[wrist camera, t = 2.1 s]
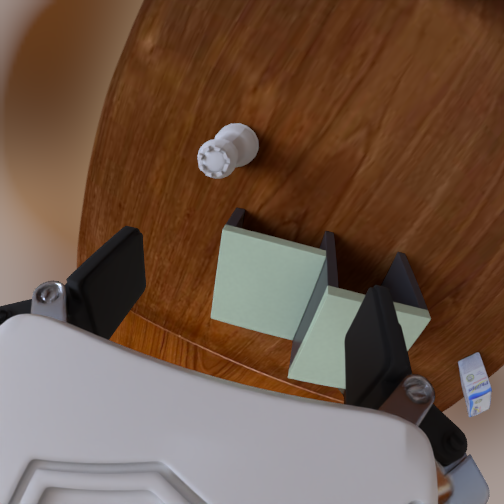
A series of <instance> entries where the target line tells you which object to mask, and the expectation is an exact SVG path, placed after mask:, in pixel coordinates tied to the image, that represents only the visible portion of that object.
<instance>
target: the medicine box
mask: <svg viewBox="0 0 504 504" xmlns="http://www.w3.org/2000/svg"><path fill="white" fill-rule="evenodd" d="M458 365H459V371H460V378H461V385H462V389H463V394H464V398H465V402H466V407H467V411H468V415H469V417H472V416H475V415H477V414H480V413H482V412H484V411H486V410H488V409H489V408H490V402H491V392H492V389H491V386H490V382H489V379H488V376H487V373H486V370H485V367H484V364H483V361H482V359H481V356H480V353H479V352H477V353H475V354H473V355H471V356H468V357H466V358H464V359H462V360H460V361H458Z"/></svg>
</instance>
